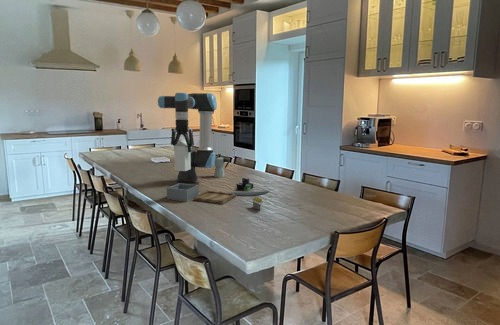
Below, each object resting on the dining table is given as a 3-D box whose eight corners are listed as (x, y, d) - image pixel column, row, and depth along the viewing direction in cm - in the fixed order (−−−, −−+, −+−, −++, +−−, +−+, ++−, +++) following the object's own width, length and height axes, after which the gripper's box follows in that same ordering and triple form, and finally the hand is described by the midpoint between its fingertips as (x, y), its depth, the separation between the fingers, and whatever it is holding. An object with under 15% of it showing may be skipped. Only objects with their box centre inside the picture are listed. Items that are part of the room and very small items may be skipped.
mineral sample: (274, 186, 255) (274, 173, 253) (263, 198, 221) (262, 183, 220) (229, 185, 264) (228, 173, 263) (211, 196, 231) (210, 183, 229)
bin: (167, 199, 216) (166, 187, 215) (179, 193, 229) (179, 183, 228) (187, 201, 211) (187, 190, 210) (198, 196, 224) (198, 185, 223)
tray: (193, 200, 214) (193, 197, 214) (207, 193, 230) (207, 190, 230) (223, 204, 207) (223, 200, 207) (235, 196, 223) (235, 193, 223)
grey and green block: (258, 203, 210) (258, 193, 209) (275, 212, 195) (276, 200, 194) (240, 206, 204) (240, 195, 203) (257, 215, 189) (257, 203, 188)
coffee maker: (209, 176, 281) (209, 154, 278) (214, 174, 289) (214, 152, 286) (226, 178, 276) (226, 155, 273) (231, 176, 284) (231, 154, 281)
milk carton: (190, 169, 219) (190, 138, 216) (185, 171, 213) (184, 140, 209) (180, 168, 222) (180, 138, 218) (174, 170, 215) (173, 139, 212)
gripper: (163, 118, 212) (164, 156, 216) (193, 119, 205) (194, 159, 209) (170, 118, 219) (171, 154, 223) (199, 119, 212) (200, 157, 216)
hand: (182, 156), depth 216 cm, fingers closed on milk carton, 7 cm apart
